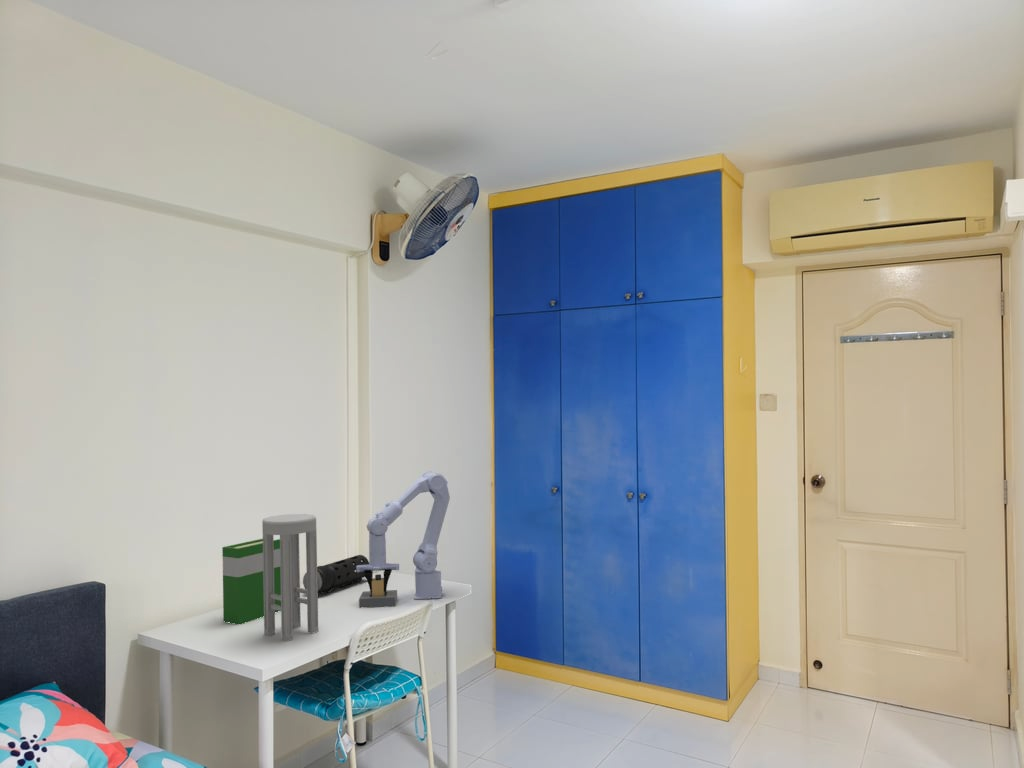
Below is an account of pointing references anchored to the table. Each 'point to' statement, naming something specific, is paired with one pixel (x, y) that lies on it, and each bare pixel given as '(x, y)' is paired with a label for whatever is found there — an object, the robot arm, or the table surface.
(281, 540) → the stool
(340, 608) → the table surface
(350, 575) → the muzzle brake
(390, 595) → the socket housing
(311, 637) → the table surface
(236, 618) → the hardback book
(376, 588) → the plug
